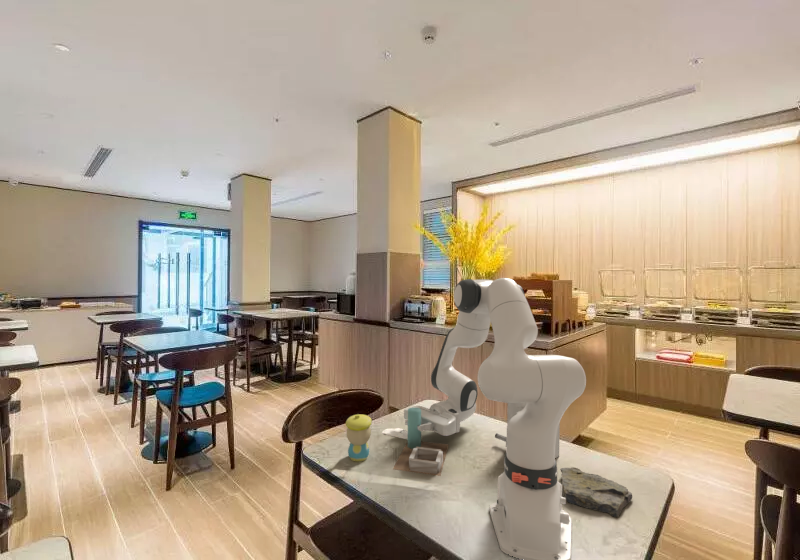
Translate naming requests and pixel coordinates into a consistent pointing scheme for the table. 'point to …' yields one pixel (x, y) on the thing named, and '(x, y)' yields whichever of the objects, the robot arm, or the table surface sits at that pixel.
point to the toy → (358, 436)
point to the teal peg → (414, 428)
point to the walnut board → (423, 458)
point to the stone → (594, 491)
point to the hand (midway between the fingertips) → (412, 425)
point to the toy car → (396, 433)
